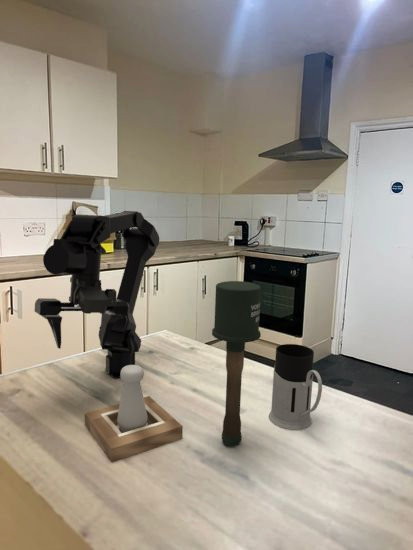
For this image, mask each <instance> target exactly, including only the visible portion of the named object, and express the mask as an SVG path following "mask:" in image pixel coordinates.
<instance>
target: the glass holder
mask: <svg viewBox="0 0 413 550" xmlns="http://www.w3.org/2000/svg"><path fill="white" fill-rule="evenodd" d="M314 354H315V351H314V350H313V349H311V347H308V346H306V345H302V344H296V343H285V344H280V345H278V346H276V348H275V362H274V367H273V377H272V378H273V379H272V393H271V394H272V395H271V408H270V409H271V410H270V412H269V414H268V419H269V421H270V422H271V424H272V425H274V426H276V427H277V428H281V429H283V430H288V431H302V430H306V429H308V428H309V427H311V425H312V423H313V421H312V418H311V413H312V412H314V411H315V410H316V409H317V408H318V405H319V404H320V401H321V397H322V392H323V381H322V378H321V375H320V372H318V371H317V370H314V368H313V367H314ZM314 375H315V377H316V379H317V385H318V387H317V395H316V398H315V402H314V404H313V406H312V405H311V403H312V392H313V391H312V390H313V383H314V382H313V380H314ZM311 406H312V407H311Z"/></svg>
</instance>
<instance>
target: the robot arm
mask: <svg viewBox="0 0 413 550" xmlns="http://www.w3.org/2000/svg"><path fill="white" fill-rule="evenodd" d="M118 232H121V233H120V234H121V237H122V239H123V240H124V248H125V252H126V254H127V260H126V263H125V267H124V271H123V273H122V278H121V281H120V285H119V289H118V293H117V290H116V289H114V288H106V289H104V290H103V288H102V280H101V279H100V277H101V262H102V260H101V259H102V255H106V254H107V251H106V249H105V248H104V247H103V246H102V243H104V242H105V241H107V240H108V239H110V238H111V235H112V234H114V233H118ZM159 235H160V234H159V233H158V231H157V229H156V228H155V225H153V224H152V223H151V222H149V221H148V220H147V219H145V217H144V216H143V213H141V212H139V211H133V210H124V211H121V212H117V213H111V214H105V215H98V214H97V215H95V214H78V213H77V214H73V216H72V217H71V220H70V221H69V223H68V225H67V227H66V228H65V230H64V232H63V234H62V235H61V236H60V238H54V239H53V245H50V246H49V247H48V248H47V249H46V251H45V252H44V255H43V258H42V261H43V266H44V268H45V270H46V271H47V272H48V273H49V274H52V275H71V277H69V283H70V292H69V293H70V296H69V297H68V302H63V301H61V300H59V299H56V298H46V297H45V298H41V297H40V298H39V297H38V298H37V299H36V300H35V303H34V312H35V313H36V314H38V315H39V316H41V317H42V318H44V319H45V320H47V322H48V324H49V326H50V329H51V332H52V335H53V338H54V342H55V345H56V347H57V349H61V348H62V321H63V320H62V319H63V316H60V313H61V312H82V313H83V314H86V315H88V314H92V313H93V314H98V313H99V314H101V318H100V319H101V320H100V325H99V331H98V338H99V342H100V343H99V345H100V347H101V350H107V351H106V352H107V354H106V355H105V369H104V370H105V371H106V372H107V373H108V374H109V375H110V376H111V377H112V379H119V378H121V377H120V373H121V370H122V368H123V367H125V366H128V365H136V353H138V352H140V349H141V345H142V339H141V338H140V336H139V335H138V333H137V332H136V330H137V324H136V319H135V318H134V311H135V308H136V307H135V306H136V302H137V299H138V294H139V291H140V287H141V283H142V279H143V276H144V275H143V274H144V271H145V268H146V264H147V262H148V261H149V260H150V259H151V258H152V257H154V255H155V252H156V250H157V247H158V246H159V243H160V236H159Z"/></svg>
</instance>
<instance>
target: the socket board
mask: <svg viewBox="0 0 413 550" xmlns="http://www.w3.org/2000/svg"><path fill="white" fill-rule="evenodd" d="M143 398H144V402H145V407H146V412H147V416H148V419H147V424H148V425H146V426H145V427H141V428H138V429H135V430H131V431H128V432H125V433H122V432H121V430H119V427H117V425H118V423H117V417H118V411H119V405H120V403H117V404H113V405H109V406H107V407H102V408H99V409H95V410H90V411H87V412H84V425H85V427H86V428H87V429H88V431H89V432H90V434H91V435H92V437H93V438H94V440H95V441H96V442H97V444H98V445H99V446H100V448H101V450H102V451H103V452H104V454H105V455H106V457H107V458H108V459H109V461H110V462H111V463H113V462H116V461H118V460H122V459H125V458H127V457H128V458H129V457H131V456H134V455H137V454H140V453H143V452H146V451H149V450H152V449H156V448H158V447H160V446H164V445H166V444H169V443H172V442H174V441H175V442H176V441H178V440H181V439H183V434H184V432H183V427H184V426H183V425H182V424H181V423H180V422H179V421H178V420H177V419H176V418H175V417H173V416H172V415H171V414H170V413H169V412H168V411H167V410H166V409H164V407H162V406H161V405H160V404H159V403H158V402H157V401H156V400H154V399H153V398H152V397H151V396H150V395H148V396H143Z"/></svg>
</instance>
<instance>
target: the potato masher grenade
mask: <svg viewBox="0 0 413 550" xmlns="http://www.w3.org/2000/svg"><path fill="white" fill-rule="evenodd" d="M261 291H262V289H261V286H260V285H259V284H257V283H254V282H249V281H240V280H229V281H226V280H225V281H221V282H218V283H216V285H215V297H214V298H215V299H214V300H215V302H214V307H215V308H214V327H213V328H212V330H211V335H212V336H213V338H215V339H217V340H220V341H223V342H226V343H225V344H226V345H225V350H226V351H225V352H226V353H225V354H226V355H225V367H226V389H225V413H224V417H223V422H222V432H221V441H222V444H224V445H225V447H228V448H235V447H238V446H239V445H240V443H241V441H242V439H243V438H242V421H241V419H242V418H241V397H242V396H241V393H242V378H243V376H242V375H243V370H244V362H245V349H246V344H247V343H252V342H255V341H257V340H259V339H260V338H261V334H262V333H261V331H260V315H261V314H260V313H261V296H262V295H261V294H262V293H261Z"/></svg>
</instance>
